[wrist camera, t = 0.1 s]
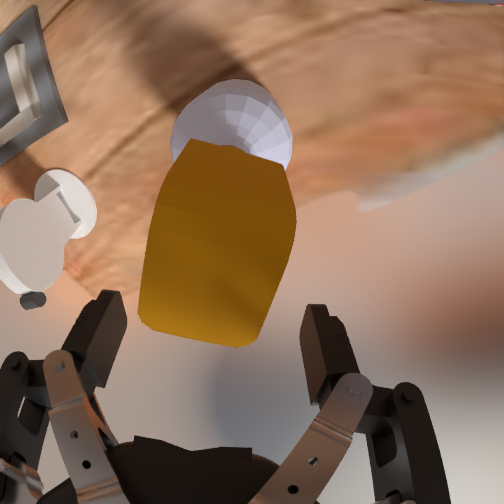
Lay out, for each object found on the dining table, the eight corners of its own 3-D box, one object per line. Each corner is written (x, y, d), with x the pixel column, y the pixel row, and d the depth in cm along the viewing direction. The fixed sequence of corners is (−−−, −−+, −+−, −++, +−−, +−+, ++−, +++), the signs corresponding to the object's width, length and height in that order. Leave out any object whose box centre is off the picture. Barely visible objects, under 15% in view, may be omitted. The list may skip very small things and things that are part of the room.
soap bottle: (185, 147, 29) (84, 348, 10) (206, 69, 23) (53, 129, 4) (262, 168, 31) (283, 388, 12) (291, 94, 25) (418, 232, 6)
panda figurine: (22, 184, 30) (-39, 248, 18) (68, 151, 28) (-7, 216, 16) (61, 245, 37) (17, 317, 26) (110, 224, 35) (63, 308, 24)
